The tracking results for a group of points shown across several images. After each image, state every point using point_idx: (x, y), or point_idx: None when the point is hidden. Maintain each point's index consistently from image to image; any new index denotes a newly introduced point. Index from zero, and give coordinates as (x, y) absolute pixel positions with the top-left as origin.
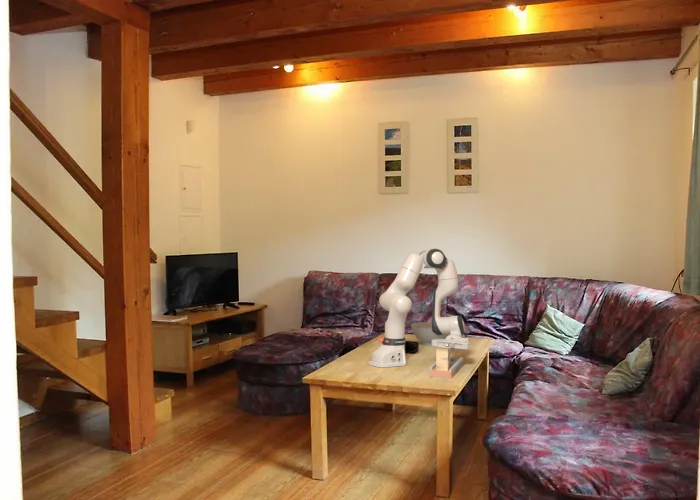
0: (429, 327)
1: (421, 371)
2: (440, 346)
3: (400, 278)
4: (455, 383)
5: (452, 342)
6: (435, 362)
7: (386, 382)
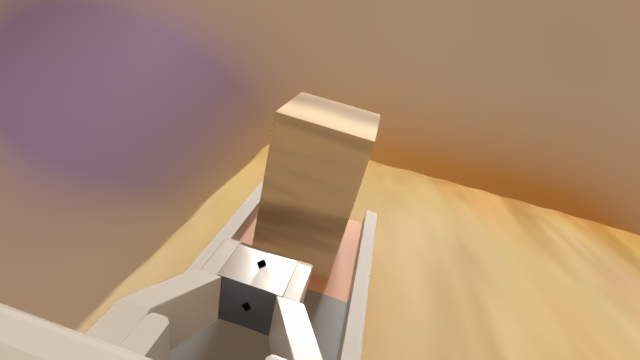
0: None
1: (436, 351)
2: (360, 134)
3: None
4: (255, 169)
5: (117, 346)
6: (364, 322)
7: (484, 202)
